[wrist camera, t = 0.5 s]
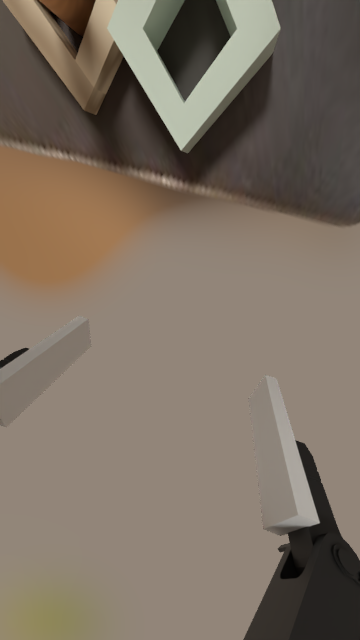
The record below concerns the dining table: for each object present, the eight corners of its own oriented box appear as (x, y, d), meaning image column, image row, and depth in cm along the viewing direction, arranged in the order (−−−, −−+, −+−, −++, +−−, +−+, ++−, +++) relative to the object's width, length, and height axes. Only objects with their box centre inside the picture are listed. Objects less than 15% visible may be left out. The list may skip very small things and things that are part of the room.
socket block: (210, -129, 13) (202, -215, 10) (273, 53, 17) (280, 28, 14) (126, 50, 19) (106, 28, 16) (187, 153, 24) (181, 150, 21)
